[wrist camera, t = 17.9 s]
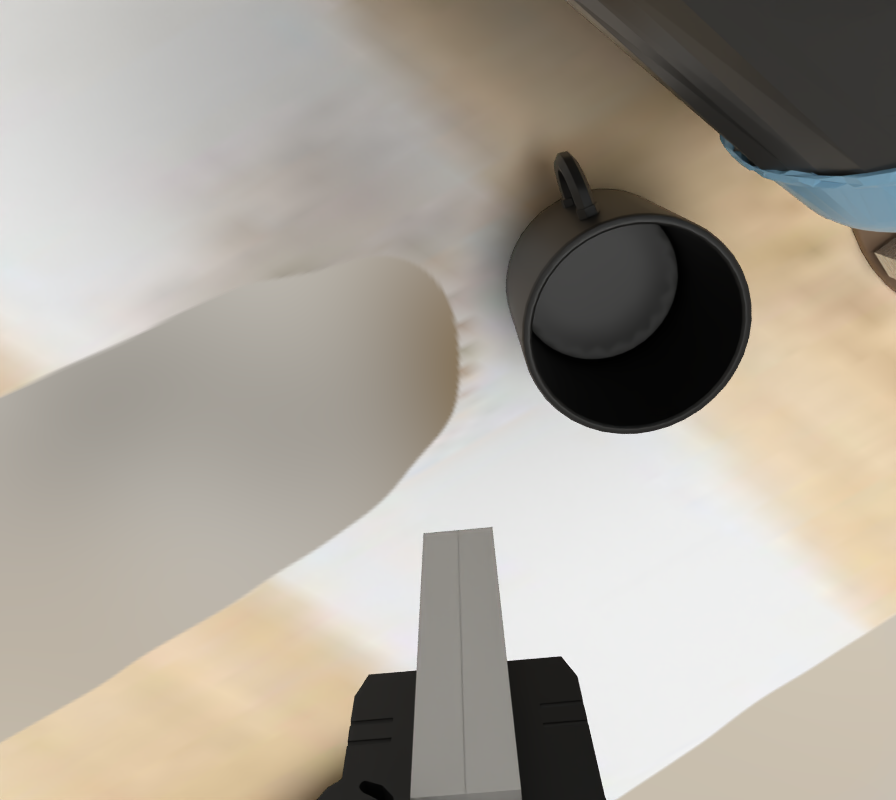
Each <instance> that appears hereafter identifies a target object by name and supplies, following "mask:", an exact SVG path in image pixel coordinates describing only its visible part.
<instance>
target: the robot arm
mask: <svg viewBox="0 0 896 800" xmlns="http://www.w3.org/2000/svg"><path fill="white" fill-rule="evenodd" d="M565 1H566V2H567V3H568V4H570V5H571V6H572V7H573V8H574V9H575V10H577V11H578V12H579V13H580V14H581V15H582V16H584V17H585V18H586V19H587V20H588V21H589V22H590V23H592V24H593V25H594V26H595V27H596V28H597V29H599V30H600V31H601V32H602V33H603V34H604V35H606V36H607V37H608V38H609V39H610V40H611V41H613V42H614V43H615V44H616V45H617V46H618V47H620V48H621V49H622V50H623V51H624V52H625V53H626V54H628V55H629V56H630V57H631V58H632V59H633V60H635V61H636V62H637V63H638V64H639V65H640V66H642V67H643V68H644V69H645V70H646V71H647V72H649V73H650V74H651V75H652V76H653V77H654V78H655V79H657V80H658V81H659V82H660V83H661V84H662V85H664V86H665V87H666V88H667V89H668V90H669V91H671V92H672V93H673V94H674V95H675V96H676V97H678V98H679V99H680V100H681V101H682V102H683V103H684V104H686V105H687V106H688V107H689V108H690V109H691V110H693V111H694V112H695V113H696V114H697V115H698V116H700V117H701V118H702V119H703V120H704V121H705V122H707V123H708V124H709V125H710V126H711V127H712V128H714V129H715V130H716V131H717V132H718V133H719V134H720V140H721V142H722V144H723V145H724V147H725V148H726V149H727V151H728V152H729V153H730V154H731V156H732V157H733V158H735V159H736V160H737V161H738V162H739V163H740V164H741V165H743V166H744V167H746V168H747V169H749V170H754V171H755V172H757V173H758V174H759V175H761V176H762V177H764V178H767V179H770V180H774V181H775V182H776V183H778V184H779V185H780V186H782V187H783V188H784V189H785V190H787V191H788V192H789V193H790V194H792V195H793V196H794V197H796V198H797V199H798V200H799V201H801V202H802V203H803V204H805V205H806V206H807V207H809V208H810V209H811V210H813V211H814V212H816V213H817V214H819V215H821V216H823V217H824V218H826V219H830V220H832V221H834V222H837V223H840V224H843V225H846V226H848V227H851V228H856V229H861V230H866V231H875V232H891V233H896V0H565ZM317 800H606V798H605V795H604V791H603V786H602V782H601V778H600V773H599V769H598V764H597V760H596V756H595V751H594V747H593V743H592V738H591V734H590V730H589V725H588V722H587V716H586V712H585V708H584V705H583V699H582V695H581V690H580V686H579V682H578V677H577V675H576V674H575V673H574V672H573V670H572V669H571V668H570V667H569V665H568V664H567V663H566V662H565V661H564V659H563V658H562V657H561V656H560V657H549V658H537V659H525V660H514V661H507V657H506V648H505V639H504V630H503V621H502V612H501V603H500V593H499V584H498V575H497V566H496V557H495V548H494V539H493V530H492V527H489V528H478V529H467V530H456V531H445V532H435V533H424V535H423V555H422V575H421V594H420V614H419V634H418V654H417V671H406V672H394V673H382V674H371V675H368V677H367V678H366V680H365V681H364V683H363V685H362V686H361V688H360V689H359V691H358V692H357V694H356V695H355V697H354V704H353V710H352V717H351V726H350V730H349V736H348V746H347V749H346V756H345V762H344V769H343V776H342V779H341V780H340V781H338V782H336V783H335V784H333V785H331V786H330V787H328V788H327V789H326V790H325V791H324V792H323V793H322V794H321V796H320V797H319V798H318V799H317Z"/></svg>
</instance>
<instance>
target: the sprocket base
mask: <svg viewBox="0 0 896 800" xmlns="http://www.w3.org/2000/svg"><path fill="white" fill-rule="evenodd" d="M853 232H854V234H855V237H856V239H857V241H858V244H859V246H860V249H861V251H862V253H863V254H864V256H865V258H866V259H867V261H868V262H869V264H870V266H871V267H872V269H873V270H874V271H875V272H876V273H877V275H878V276H879V277H880V278H881V279H882V280H883V281H884V283H885V284H886V285H888V286H889V287H890V288H891V289H892V290H894V291H895V292H896V279H894V278H891V277H889V276H888V274H887V272H886V271H885V269H884V268H883V266H882V264H881V263H880V261H879V260H878V258H877V256H876V255H875V253H874V252H875V251H877V250H878V249H880V248H881V247H882V246H884V245H885V244H887V243H888V242H889V241H891V240H892V239H894V238H895V237H896V233H891V232H875V231H866V230H861V229H856V228H853Z"/></svg>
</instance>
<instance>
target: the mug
mask: <svg viewBox="0 0 896 800" xmlns="http://www.w3.org/2000/svg"><path fill="white" fill-rule="evenodd" d="M554 171H555V175H556V179H557V183H558V186H559V189H560V192H561V195H562V198H561V199H560V201H558V202H556V203H554V204H553V205H551V206H550V207H548V208H547V209H545V210H544V211H543V212H541V213H540V214H539V215H538V216H537V217H536V218H535V219H534V220H533V221H532V222H531V223H530V224H529V226H528V227H527V228H526V230H525V231H524V232H523V234H522V235H521V237H520V238H519V240H518V242H517V244H516V246H515V248H514V250H513V253H512V256H511V259H510V262H509V266H508V272H507V279H506V293H507V300H508V305H509V309H510V312H511V316H512V319H513V322H514V325H515V329H516V332H517V335H518V338H519V342H520V345H521V348H522V351H523V355H524V358H525V361H526V364H527V367H528V371H529V373H530V375H531V377H532V379H533V381H534V383H535V384H536V386H537V388H538V389H539V390H540V392H541V393H542V395H543V396H544V397H545V399H546V400H547V401H548V402H549V403H550V404H551V405H553V406H554V407H555V408H556V409H557V410H558V411H559V412H561V413H562V414H564V415H565V416H566V417H568V418H569V419H571V420H573V421H575V422H577V423H579V424H581V425H583V426H586V427H589V428H592V429H595V430H599V431H602V432H610V433H618V434H637V433H644V432H650V431H655V430H658V429H662V428H665V427H668V426H671V425H673V424H675V423H678V422H680V421H682V420H684V419H686V418H688V417H689V416H691V415H693V414H694V413H696V412H697V411H699V410H701V409H702V408H703V407H704V406H705V405H707V404H708V403H709V402H710V401H711V400H712V399H713V398H715V397H716V396H717V394H718V393H719V392H720V391H721V390H722V389H723V388H724V387H725V386H726V384H727V383H728V381H729V380H730V379H731V377H732V376H733V374H734V373H735V371H736V369H737V367H738V365H739V363H740V361H741V359H742V357H743V355H744V352H745V349H746V346H747V343H748V339H749V334H750V327H751V321H752V318H751V299H750V293H749V288H748V284H747V281H746V279H745V276H744V273H743V271H742V269H741V267H740V265H739V264H738V262H737V260H736V259H735V257H734V255H733V254H732V253H731V252H730V250H729V249H728V248H727V247H726V246H725V245H724V244H723V243H722V242H721V241H720V240H719V239H718V238H717V237H716V236H714V235H713V234H712V233H711V232H709V231H708V230H707V229H705V228H703V227H701V226H699V225H697V224H695V223H693V222H691V221H689V220H687V219H685V218H683V217H681V216H679V215H677V214H675V213H673V212H671V211H669V210H667V209H665V208H663V207H661V206H659V205H657V204H655V203H653V202H650V201H648V200H646V199H644V198H642V197H640V196H638V195H635V194H632V193H629V192H626V191H620V190H612V189H595V190H591V189H590V187H589V184H588V182H587V180H586V177H585V175H584V173H583V171H582V169H581V167H580V165H579V163H578V162H577V160H576V159H575V158H574V157H573V156H572V155H571V154H570V153H569V152H567V151H565V152H561V153H558V154H557V156H556V158H555V161H554Z"/></svg>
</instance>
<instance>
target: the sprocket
mask: <svg viewBox="0 0 896 800" xmlns="http://www.w3.org/2000/svg"><path fill="white" fill-rule="evenodd" d="M874 253H875V255H876V256H877V258H878V260H879V261H880V263H881V264H882V266H883V268H884V269H885V271H886V272H887V274H888V276H889V277H891V278H894V279H896V237H895V238H894V239H892V240H891V241H889V242H888V243H887V244H885V245H884V246H882V247H881V248H880V249H878V250H877V251H875V252H874Z"/></svg>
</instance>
